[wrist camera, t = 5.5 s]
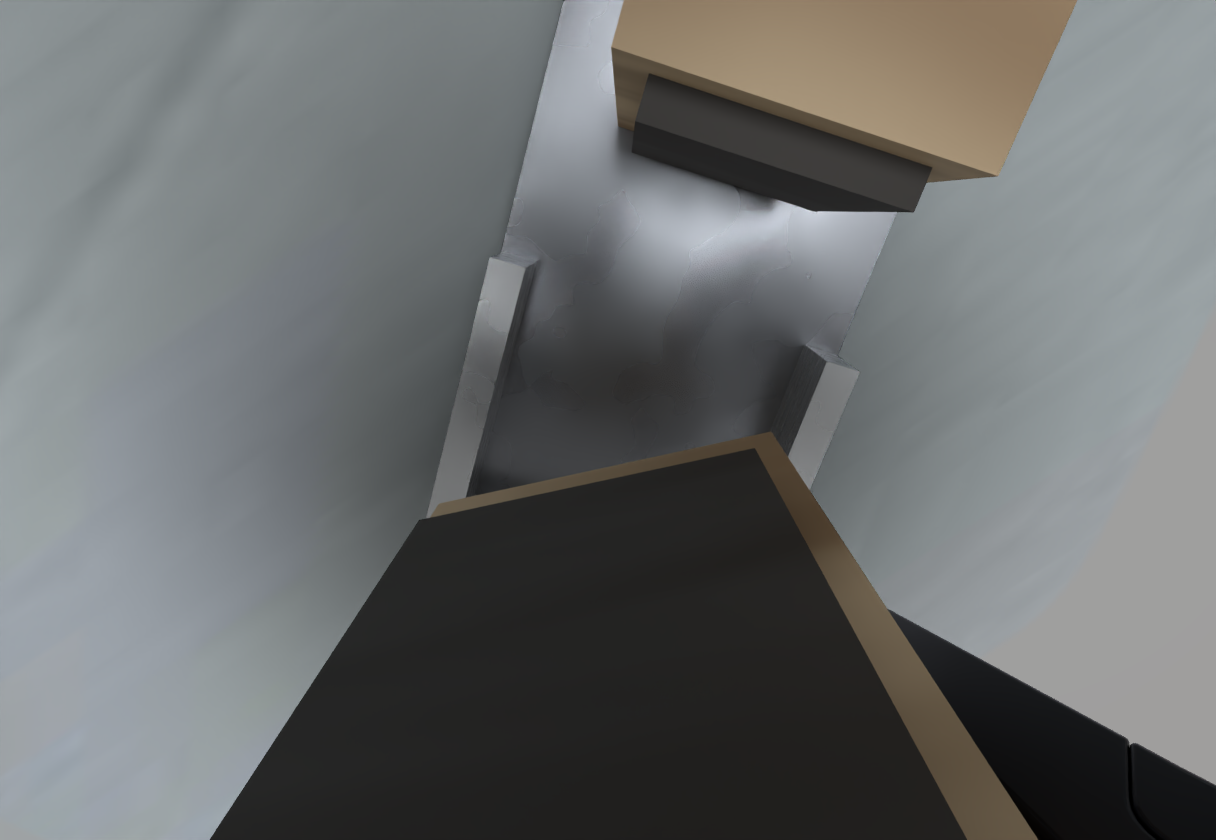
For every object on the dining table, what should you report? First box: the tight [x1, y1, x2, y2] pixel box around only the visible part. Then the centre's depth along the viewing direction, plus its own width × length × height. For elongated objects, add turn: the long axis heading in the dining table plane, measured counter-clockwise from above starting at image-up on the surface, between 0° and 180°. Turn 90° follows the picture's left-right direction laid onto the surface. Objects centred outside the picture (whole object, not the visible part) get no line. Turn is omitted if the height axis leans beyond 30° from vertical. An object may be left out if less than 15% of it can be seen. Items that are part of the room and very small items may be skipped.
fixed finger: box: [611, 0, 1077, 212], centre depth 12 cm, size 5×5×8 cm
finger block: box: [210, 432, 1038, 840], centre depth 7 cm, size 5×5×8 cm
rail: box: [426, 0, 897, 518], centre depth 16 cm, size 18×9×4 cm, turn 163°
